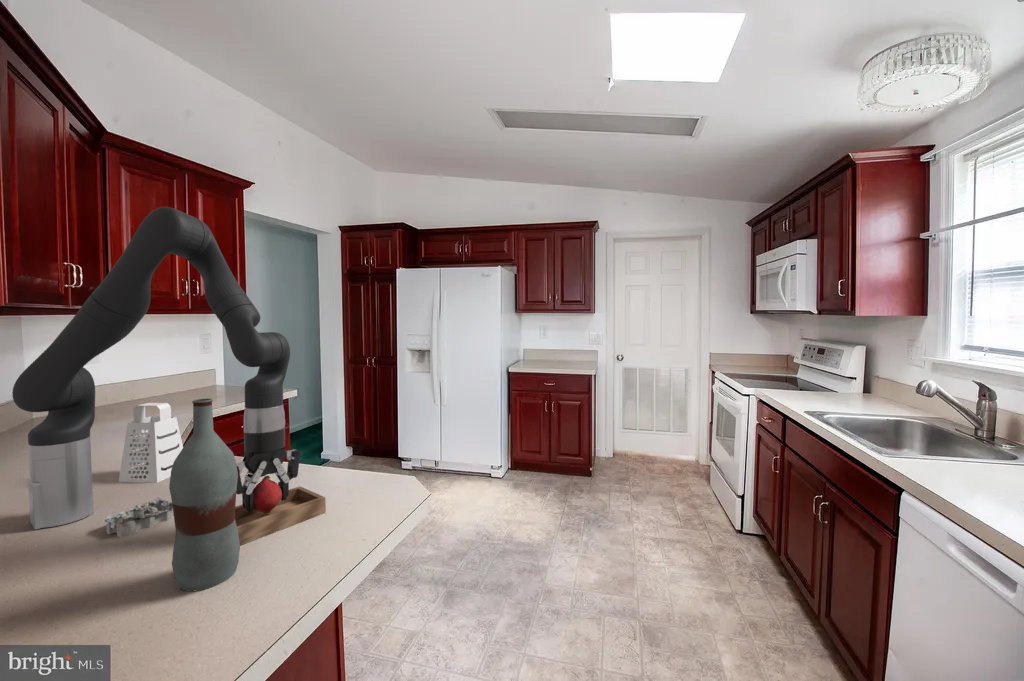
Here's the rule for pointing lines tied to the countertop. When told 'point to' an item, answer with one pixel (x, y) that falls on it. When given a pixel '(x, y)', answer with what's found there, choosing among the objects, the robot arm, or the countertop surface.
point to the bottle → (204, 506)
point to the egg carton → (139, 517)
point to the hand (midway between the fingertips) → (266, 504)
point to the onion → (266, 495)
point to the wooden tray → (279, 515)
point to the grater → (150, 445)
